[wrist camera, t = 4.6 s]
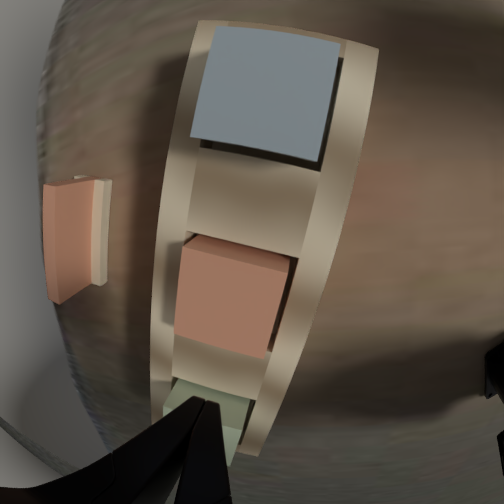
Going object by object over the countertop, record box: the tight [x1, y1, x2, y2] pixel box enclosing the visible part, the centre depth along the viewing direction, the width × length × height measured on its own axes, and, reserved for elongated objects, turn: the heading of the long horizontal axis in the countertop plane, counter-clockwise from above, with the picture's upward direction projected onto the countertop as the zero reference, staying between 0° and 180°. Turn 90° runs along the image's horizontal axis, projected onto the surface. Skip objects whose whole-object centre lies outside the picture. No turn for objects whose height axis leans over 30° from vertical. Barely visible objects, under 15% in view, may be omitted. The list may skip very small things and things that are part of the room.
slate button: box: [190, 26, 341, 162], centre depth 11 cm, size 5×5×3 cm
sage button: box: [163, 378, 250, 466], centre depth 18 cm, size 5×5×3 cm
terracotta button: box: [174, 234, 290, 359], centre depth 16 cm, size 5×5×3 cm
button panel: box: [150, 20, 379, 456], centre depth 17 cm, size 28×9×4 cm, turn 168°
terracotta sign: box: [43, 175, 112, 305], centre depth 18 cm, size 8×3×5 cm, turn 168°
